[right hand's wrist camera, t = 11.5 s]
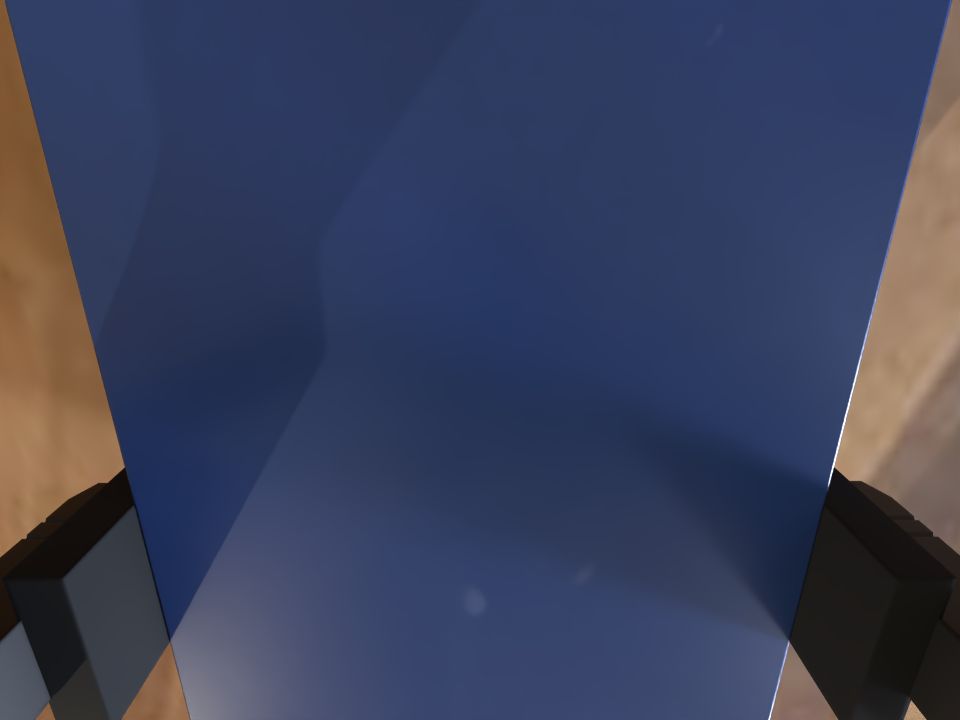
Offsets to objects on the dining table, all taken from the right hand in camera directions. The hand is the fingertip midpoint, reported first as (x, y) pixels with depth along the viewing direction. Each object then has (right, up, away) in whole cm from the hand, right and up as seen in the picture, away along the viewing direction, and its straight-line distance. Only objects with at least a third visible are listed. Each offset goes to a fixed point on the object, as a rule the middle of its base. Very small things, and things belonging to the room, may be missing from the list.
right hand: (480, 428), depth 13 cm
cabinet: (0, +6, +1) cm, 6 cm away
